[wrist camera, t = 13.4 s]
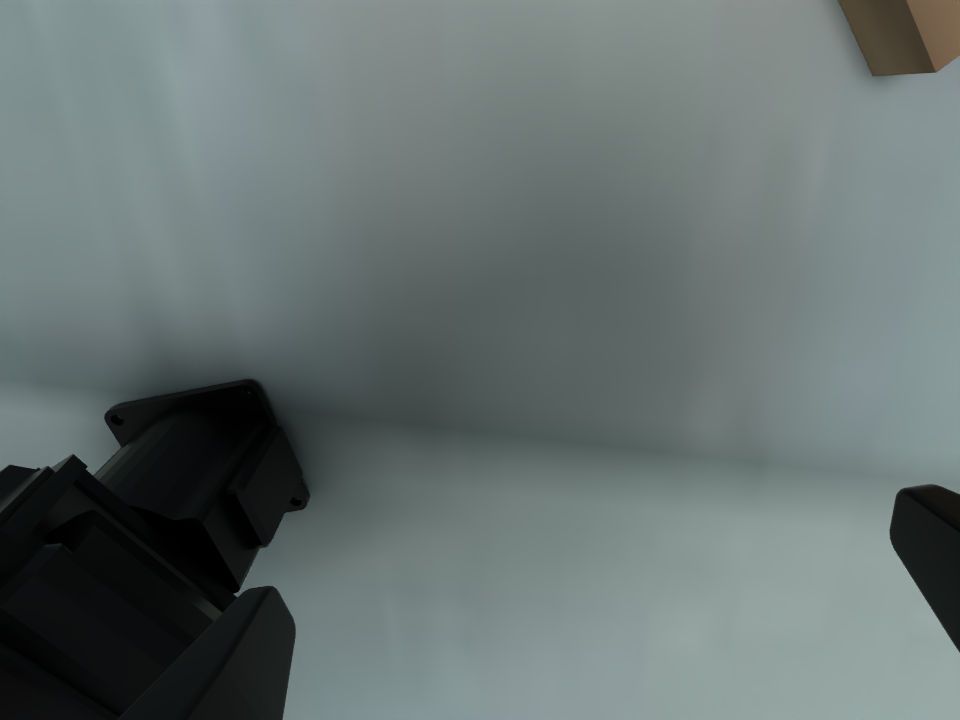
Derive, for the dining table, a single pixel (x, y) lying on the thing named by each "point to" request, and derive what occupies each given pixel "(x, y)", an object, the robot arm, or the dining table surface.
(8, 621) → the robot arm
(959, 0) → the walnut slab
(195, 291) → the dining table surface
